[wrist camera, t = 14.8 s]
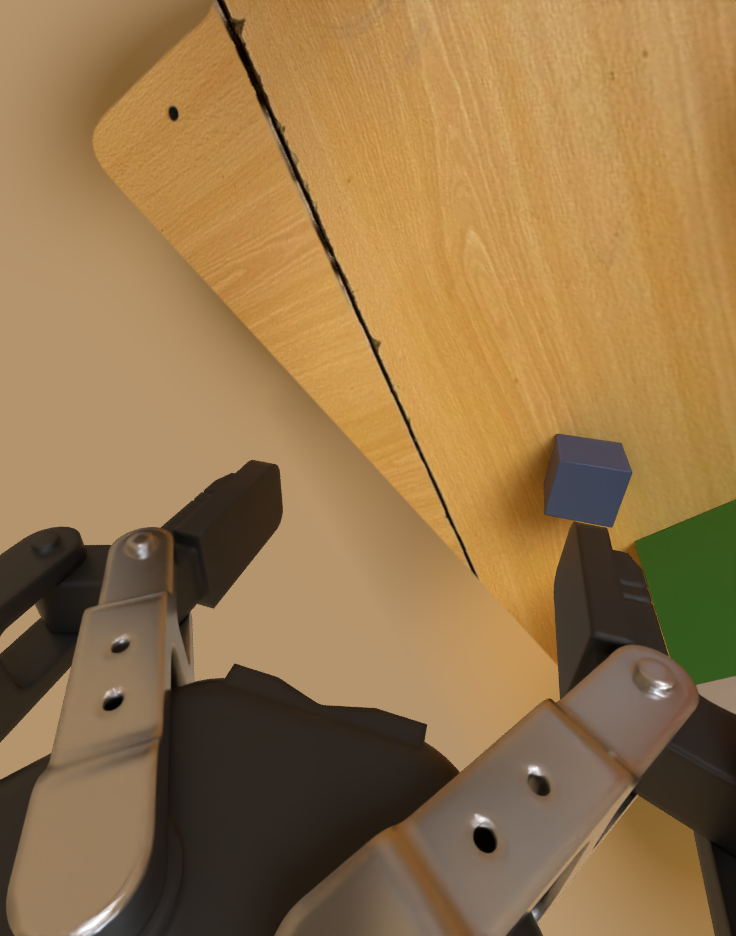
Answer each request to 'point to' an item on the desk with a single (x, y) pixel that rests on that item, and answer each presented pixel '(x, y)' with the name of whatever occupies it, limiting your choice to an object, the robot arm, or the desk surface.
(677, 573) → the hardback book
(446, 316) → the desk surface
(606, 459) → the cube
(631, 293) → the desk surface
